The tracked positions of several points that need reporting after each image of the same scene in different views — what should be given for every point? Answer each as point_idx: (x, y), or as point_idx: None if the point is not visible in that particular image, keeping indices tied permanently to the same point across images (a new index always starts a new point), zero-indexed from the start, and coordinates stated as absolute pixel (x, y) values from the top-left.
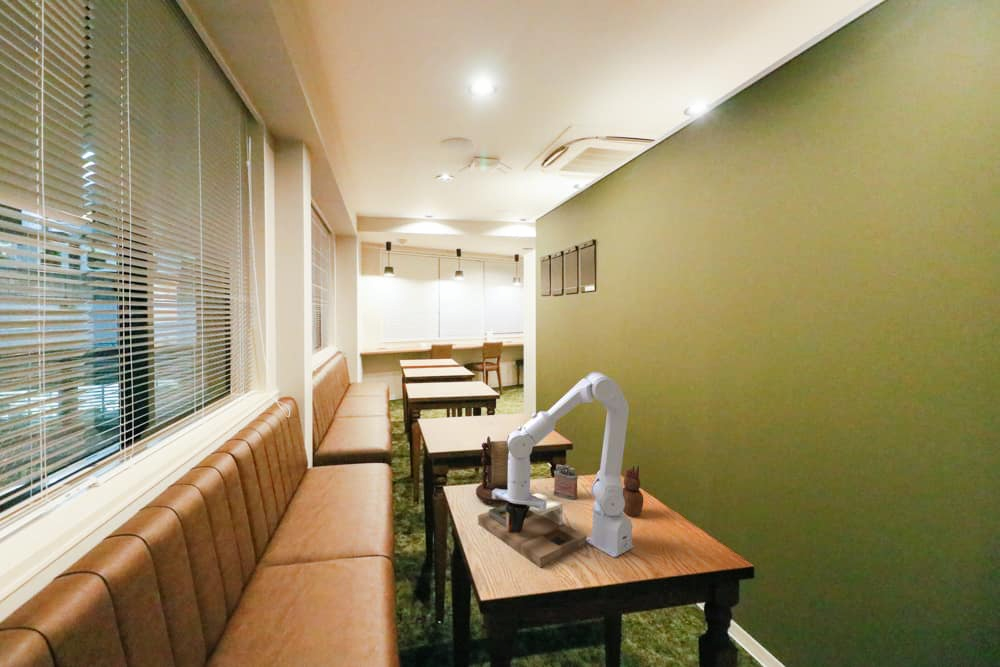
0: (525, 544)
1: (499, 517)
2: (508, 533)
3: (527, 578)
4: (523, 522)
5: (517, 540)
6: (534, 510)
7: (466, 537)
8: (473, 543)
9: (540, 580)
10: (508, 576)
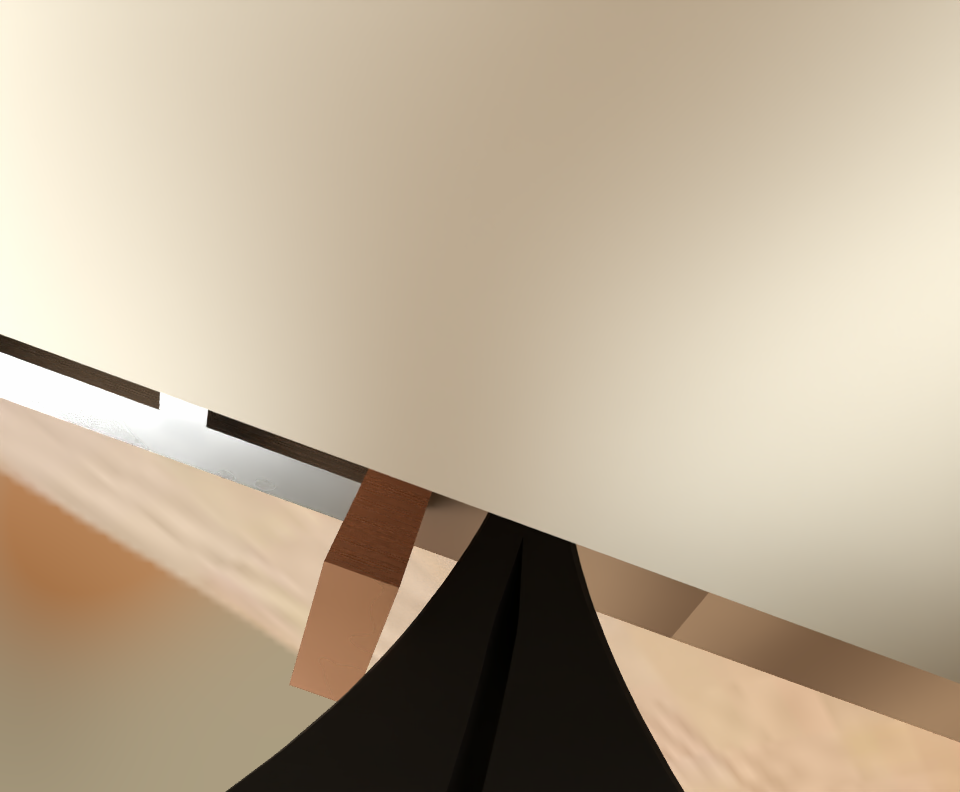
0: (724, 629)
1: (127, 435)
2: (430, 527)
3: (842, 750)
4: (579, 563)
5: (602, 599)
6: (782, 599)
7: (106, 523)
8: (219, 566)
9: (956, 746)
10: (695, 761)
